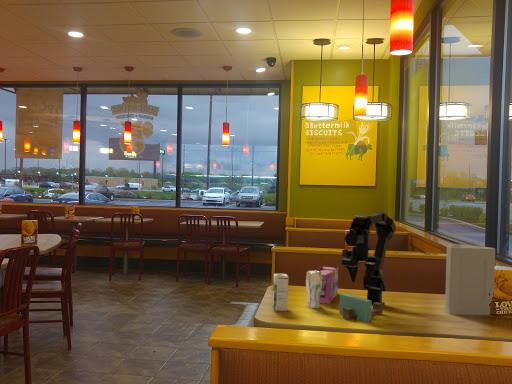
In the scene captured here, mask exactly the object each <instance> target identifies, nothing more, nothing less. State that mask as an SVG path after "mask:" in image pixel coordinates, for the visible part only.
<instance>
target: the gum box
mask: <svg viewBox="0 0 512 384" xmlns="http://www.w3.org/2000/svg"><path fill="white" fill-rule="evenodd" d="M315 271H321V272H322V288H321V293H320V304H330V303H331V302H332V301H333V300H334V299H335V297H337V296H338V293H339V286H338V285H339V266H335V265H324V264H323V265H322V266H320V267H319V268H318V269H315Z"/></svg>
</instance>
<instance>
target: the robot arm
mask: <svg viewBox="0 0 512 384" xmlns="http://www.w3.org/2000/svg"><path fill="white" fill-rule="evenodd" d="M373 225H374V228H375V232H376V236H377V242H376V245H375V250H374V253H373V255H369V252H370V251H371V249H372V247H369V246H370V245H369V244H370V234H371V233H372V232H371V231H370V230H371V229H372V228H373ZM396 231H397V226H396V224H395V221H394V220H393V219H392V218H391V217H389V216H388V214H387V213H386V212H379V211H376V212H374V213H372V214H368V215H361V214H356V215H354V217H353V219H352V222H351V224H350V227H349V232H348V233H346V235H345V237H344V241H345V244H346V245H347V246H349V247H352V248H351V249H350V250H349V249H348V248H343V249H342V251H341V255H342V257H343V258H342V259H341V265H343V267H344V268H346V269H347V271H348V273H349V276H350V279H351V282H352V283H355V281H356V278H357V275H358V270H359V266H358V265H359V264H364V266H365V268H366V269H365V272H364V275H363V278H362V283H363V289H364V290H367V293H366V299H367V300H371V301H372V305H371V306H373V303H376V302H378V303H381V304H383V305H385V302H383V292H386V290H387V284H386V282H385V279H384V278H385V276H384V274H383V273H384V272H383V266H384V262H385V258H386V252H387V249H388V245H389V242H390V241H391V239H393V237H394V236H395V233H396Z"/></svg>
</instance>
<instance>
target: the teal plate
mask: <svg viewBox="0 0 512 384" xmlns="http://www.w3.org/2000/svg"><path fill="white" fill-rule="evenodd" d="M372 306H373V305H372V301H371V300H367V298H364V297H359V296H355V295H352V294H348V293H345V292H344V293H339V309H338V311H339V312H338V313H339V315H341V316H343V308H346V307H348V308H352V309H353V315H357V319H356V321H360V322H364V323H368V322H369V323H370V322H372V316H371V309H372Z"/></svg>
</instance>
